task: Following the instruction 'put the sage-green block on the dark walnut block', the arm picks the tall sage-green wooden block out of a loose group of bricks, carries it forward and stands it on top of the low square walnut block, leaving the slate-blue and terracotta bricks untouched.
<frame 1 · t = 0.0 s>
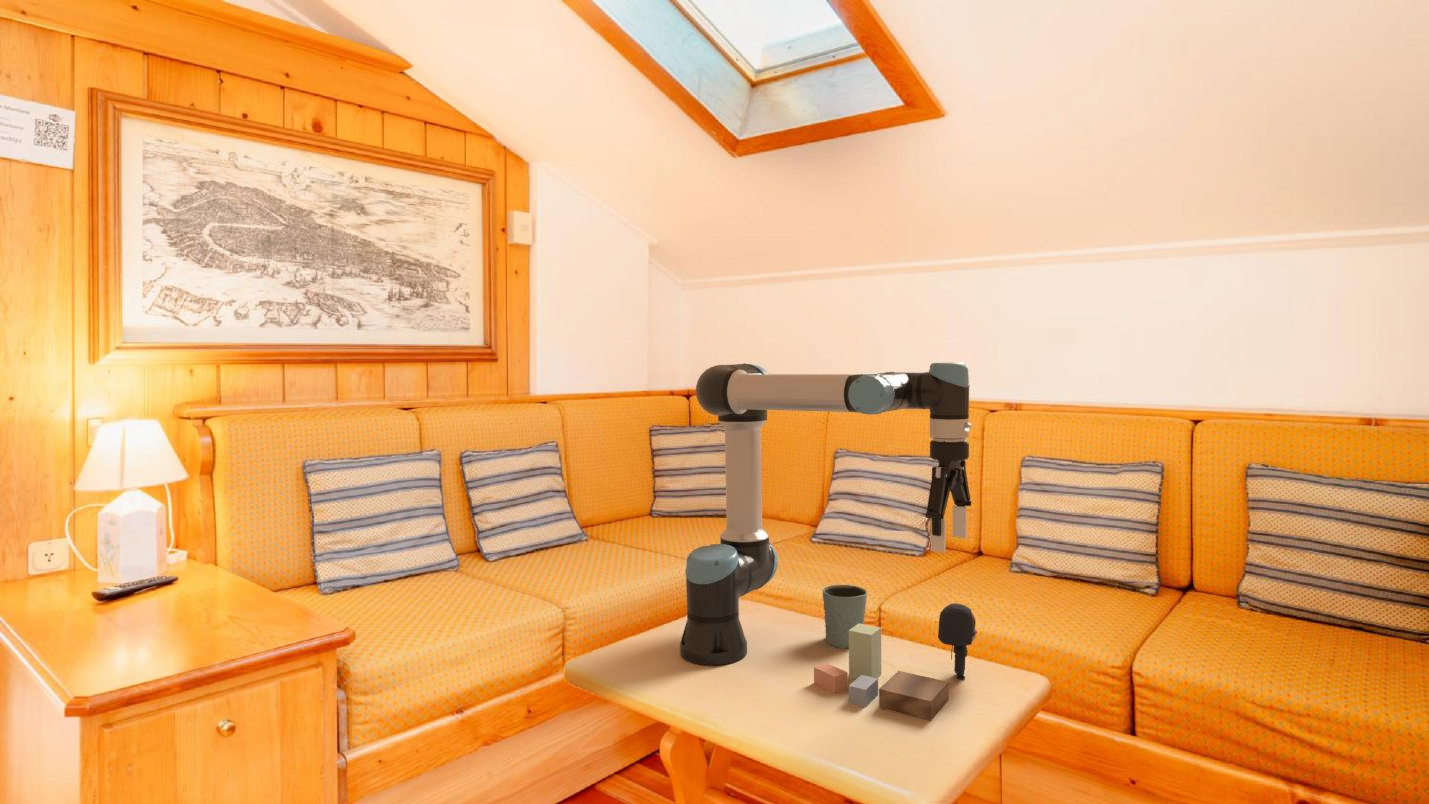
hand: (949, 544, 157), 28 cm above the table, fingers open, 13 cm apart
grey green cup: (845, 641, 181), on the table
brick sage: (865, 676, 162), on the table
brick walnut: (914, 705, 148), on the table
brick terracotta: (830, 686, 157), on the table
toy: (957, 677, 161), on the table
brick slate: (863, 699, 151), on the table
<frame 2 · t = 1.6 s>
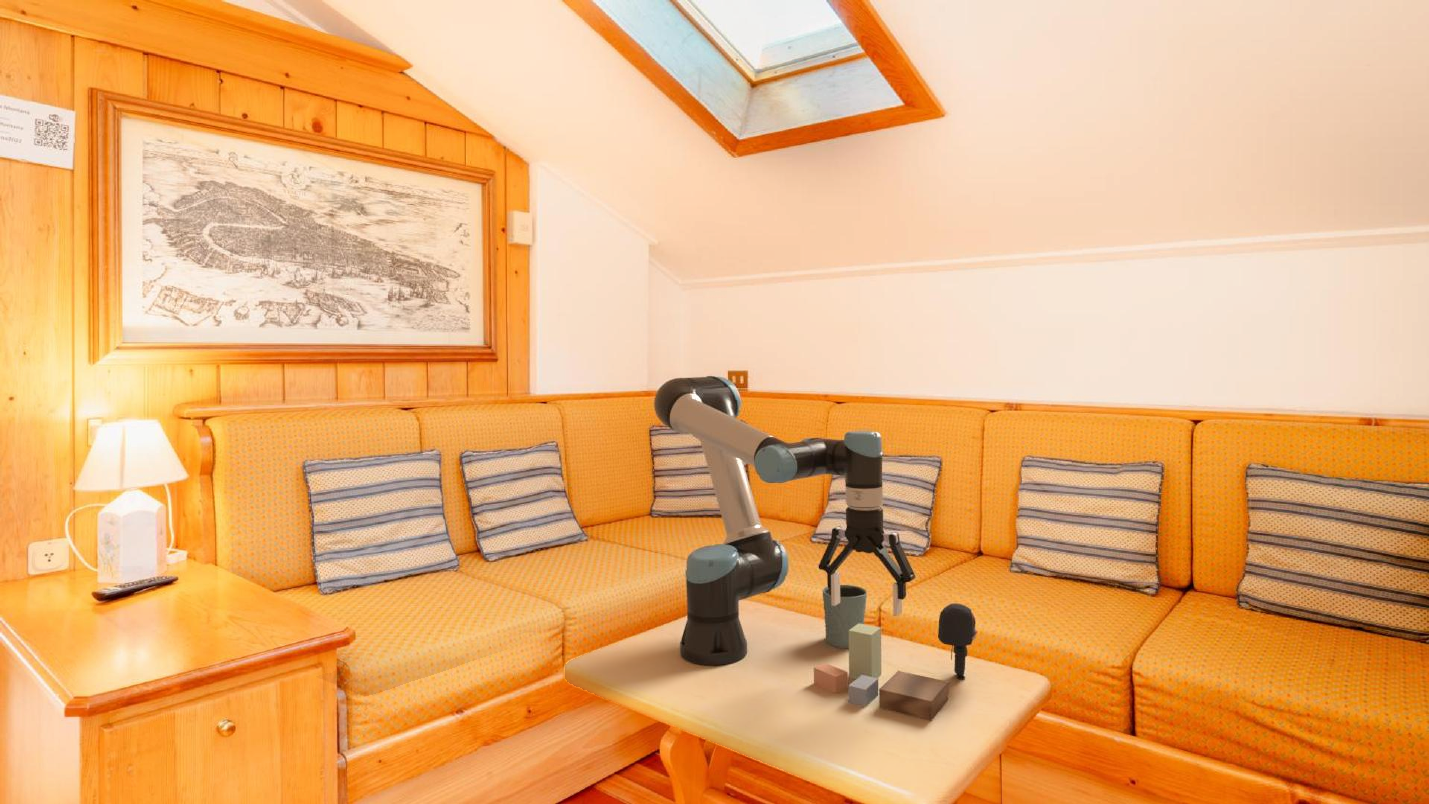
hand: (866, 609, 160), 14 cm above the table, fingers open, 13 cm apart
nothing on the table moved.
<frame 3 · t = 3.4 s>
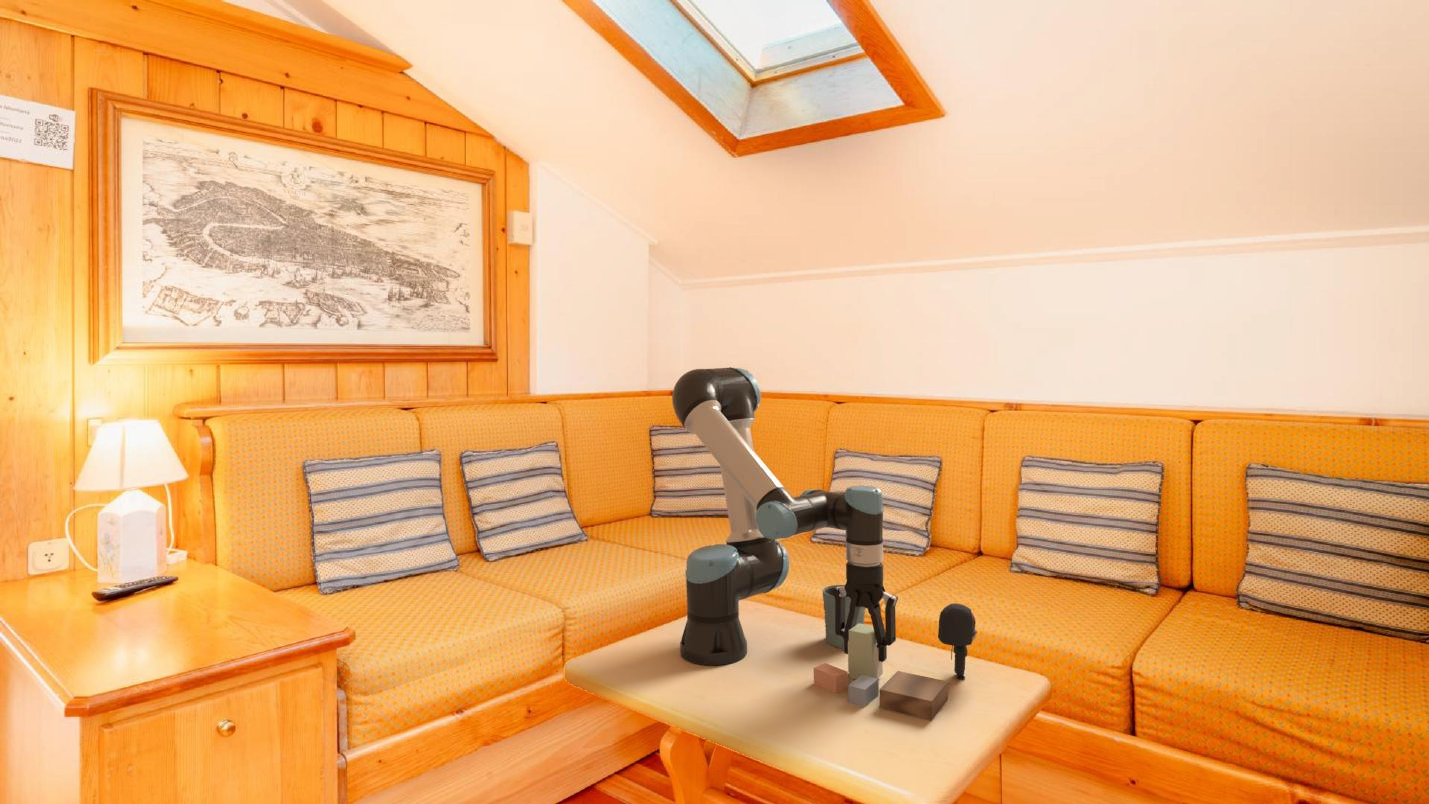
hand: (865, 672, 161), 1 cm above the table, fingers closed on brick sage, 5 cm apart
brick sage: (865, 676, 162), on the table, touching gripper
everything else where it was.
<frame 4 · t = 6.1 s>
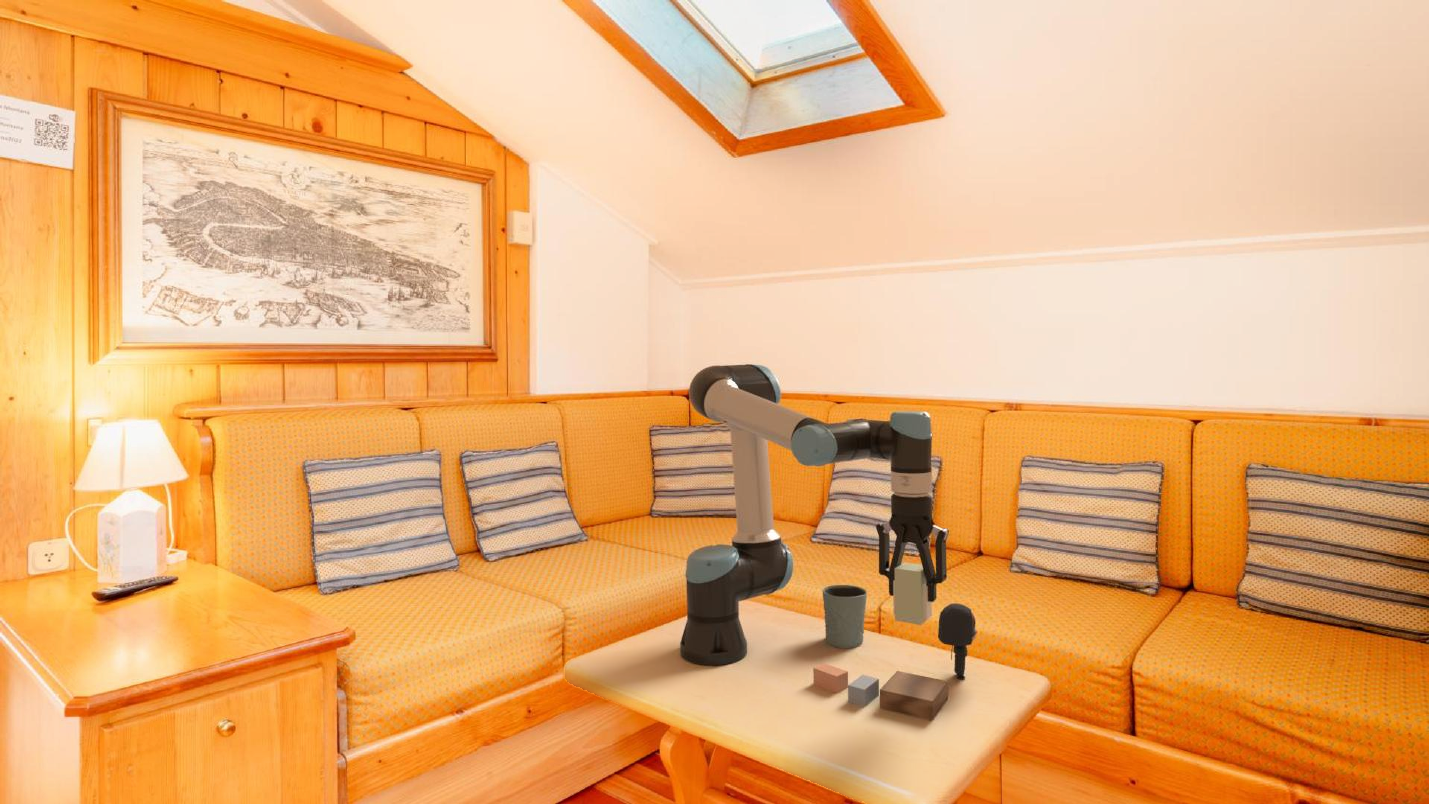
hand: (912, 615, 148), 17 cm above the table, fingers closed on brick sage, 5 cm apart
brick sage: (912, 619, 148), point 16 cm above the table, touching gripper
everything else where it was.
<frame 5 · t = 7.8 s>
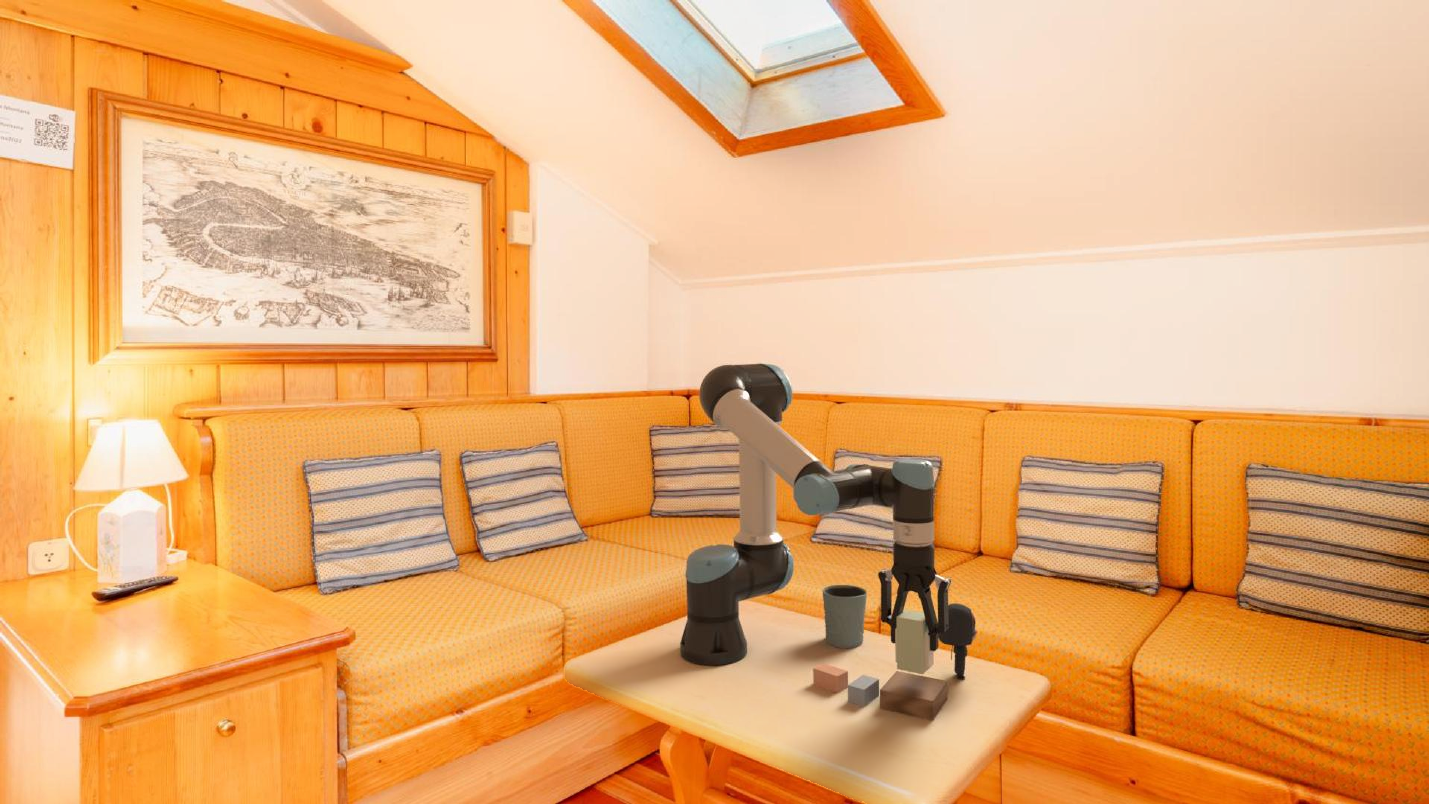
hand: (914, 663, 148), 8 cm above the table, fingers closed on brick sage, 5 cm apart
brick sage: (914, 667, 148), point 7 cm above the table, touching gripper
everything else where it was.
when the fingers open (5 cm above the table, at t = 9.2 s): brick sage stays where it is, point 4 cm above the table.
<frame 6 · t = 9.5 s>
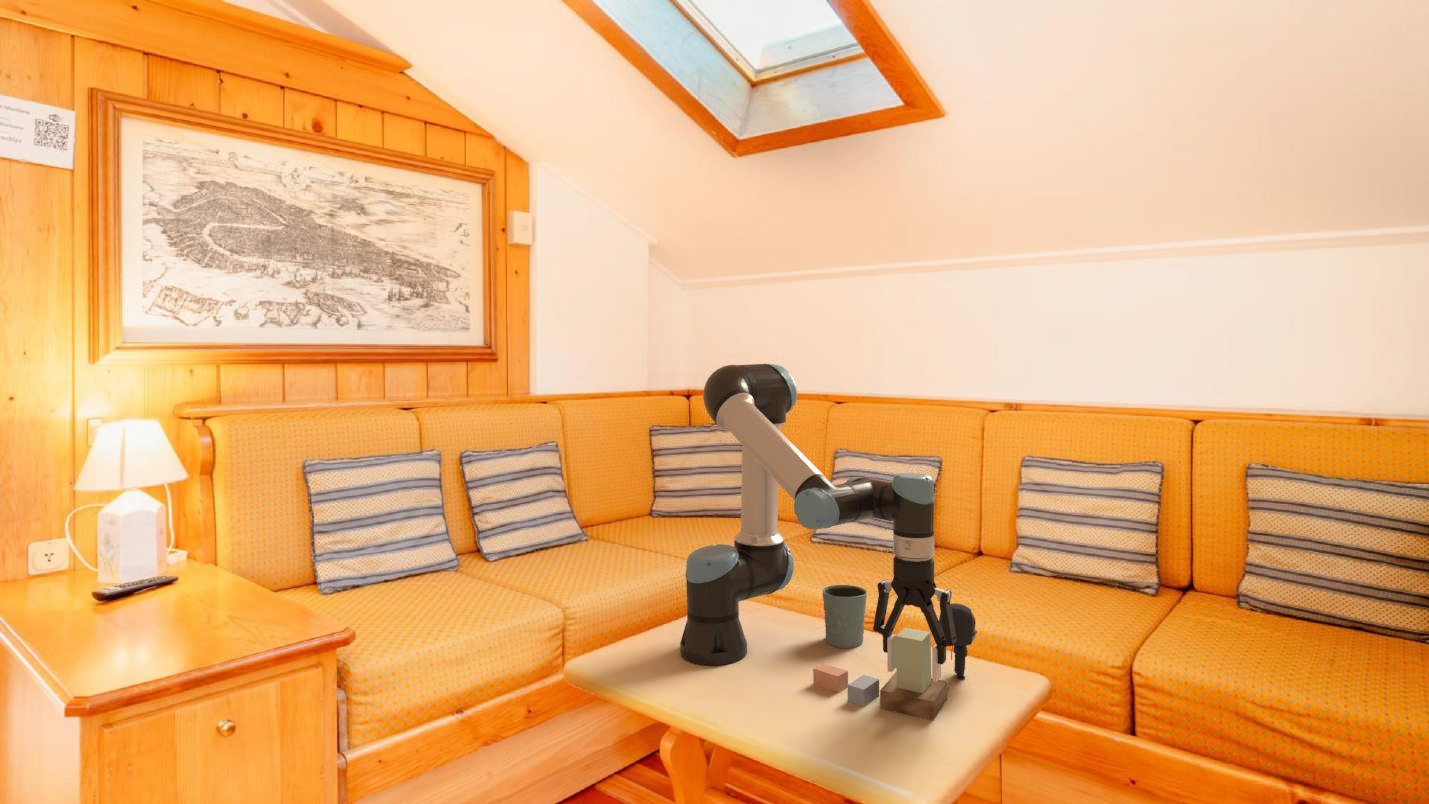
hand: (914, 674, 148), 6 cm above the table, fingers open, 8 cm apart
brick sage: (914, 685, 148), point 4 cm above the table
everything else where it was.
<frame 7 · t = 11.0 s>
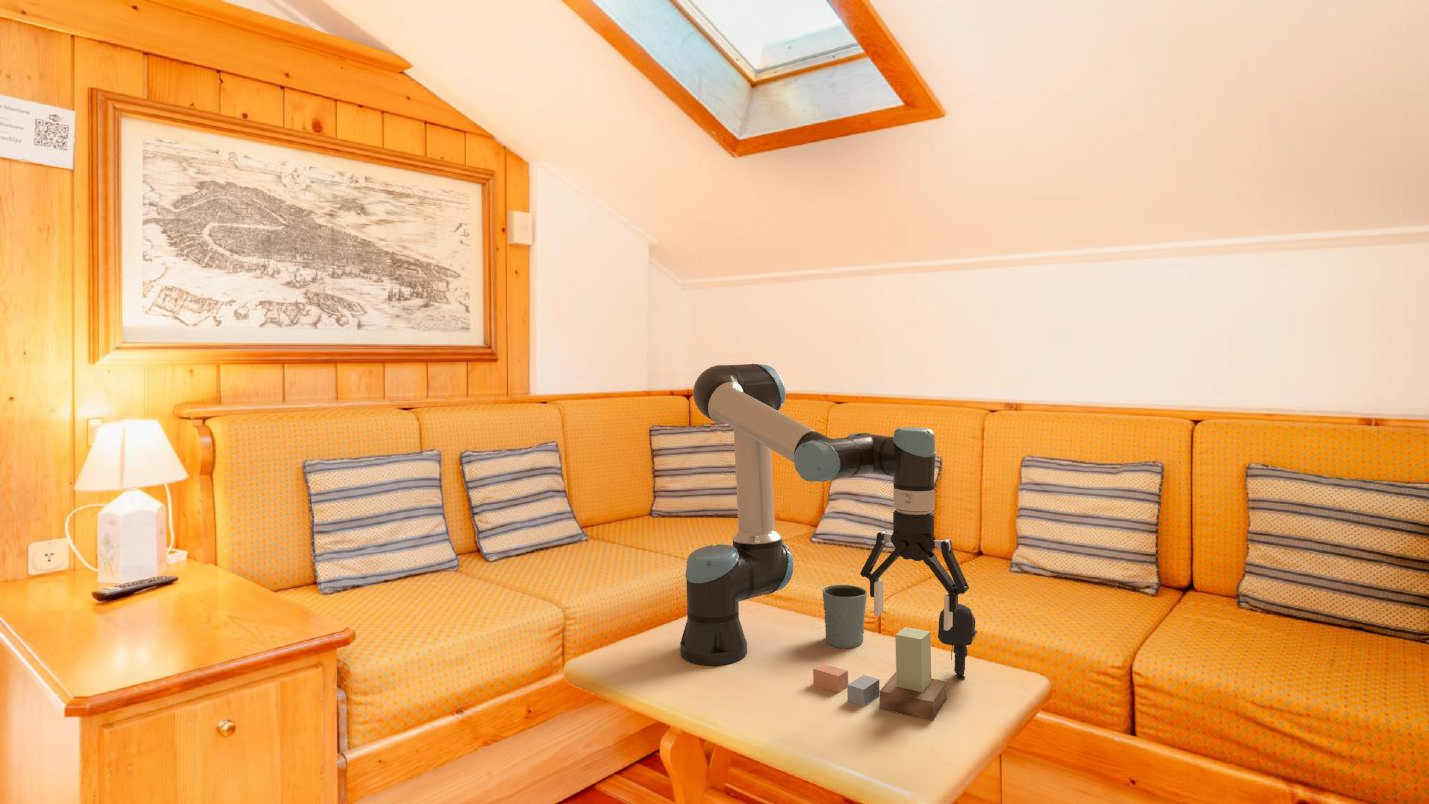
hand: (912, 621, 148), 16 cm above the table, fingers open, 13 cm apart
nothing on the table moved.
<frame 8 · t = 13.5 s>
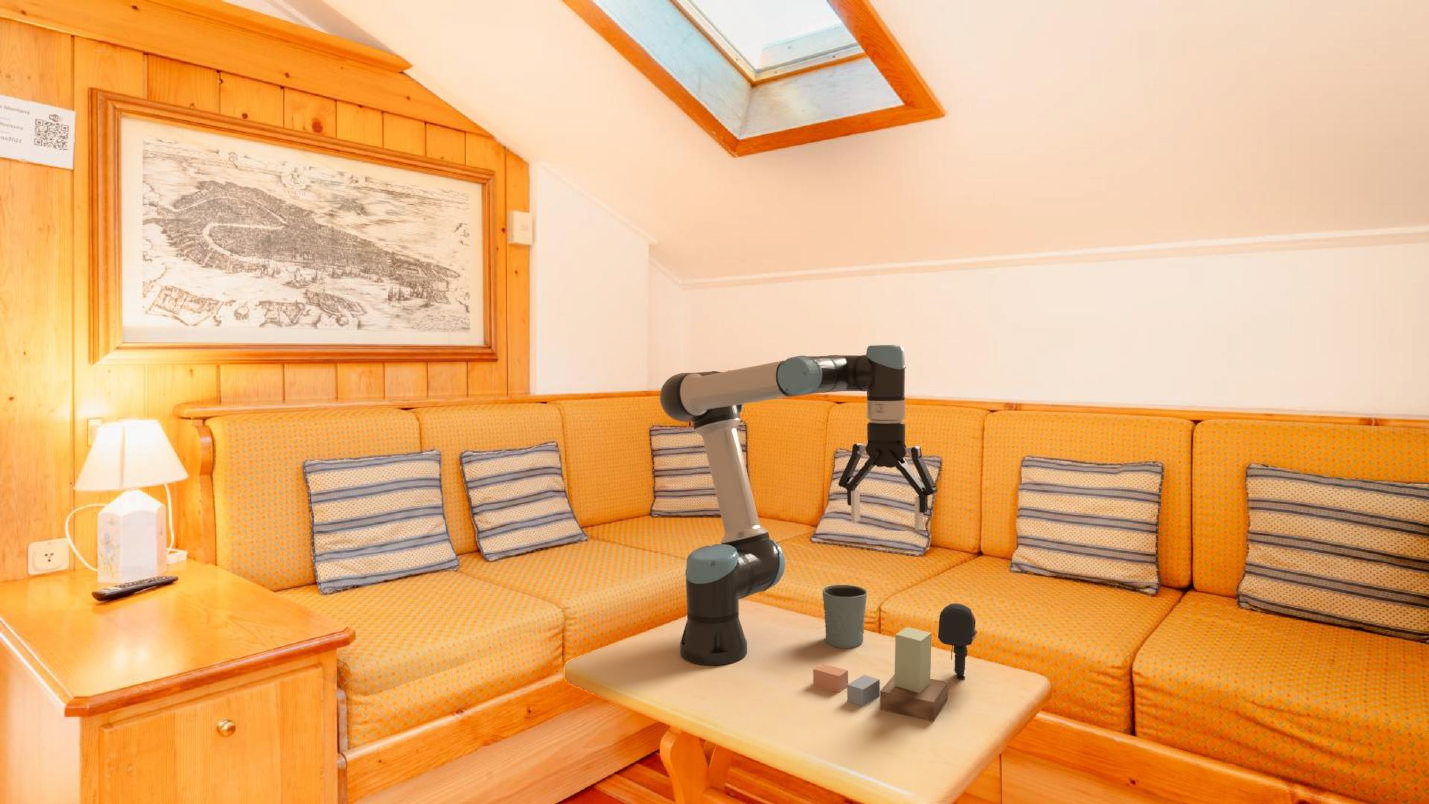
hand: (886, 525, 159), 32 cm above the table, fingers open, 13 cm apart
nothing on the table moved.
at the end: brick sage inside the target area on the brick walnut (0.5 cm from its centre), point 4.0 cm above the brick walnut's base; brick sage tilted 1°; brick slate moved 0.2 cm from its start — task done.
